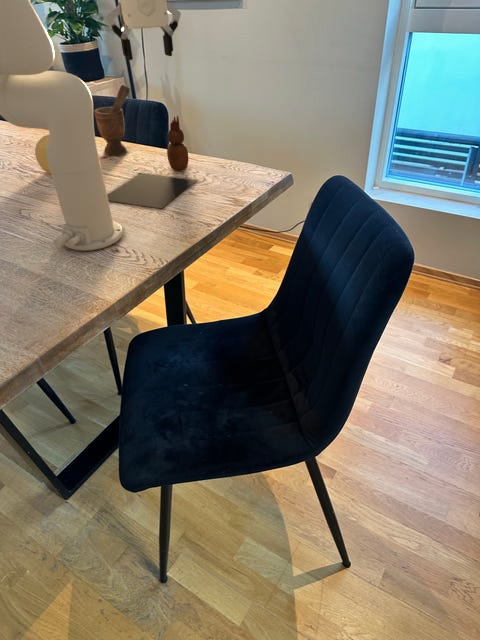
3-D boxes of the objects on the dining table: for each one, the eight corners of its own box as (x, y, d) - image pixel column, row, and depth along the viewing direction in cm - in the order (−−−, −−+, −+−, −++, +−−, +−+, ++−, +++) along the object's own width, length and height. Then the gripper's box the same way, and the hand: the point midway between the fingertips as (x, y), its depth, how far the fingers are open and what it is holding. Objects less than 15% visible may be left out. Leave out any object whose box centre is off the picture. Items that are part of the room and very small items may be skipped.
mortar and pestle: (137, 147, 145) (127, 80, 133) (140, 154, 139) (129, 85, 127) (102, 150, 143) (88, 83, 131) (103, 158, 136) (88, 88, 124)
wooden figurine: (191, 171, 125) (187, 116, 116) (172, 174, 124) (166, 118, 114) (185, 164, 130) (180, 111, 121) (167, 167, 129) (160, 113, 119)
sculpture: (57, 181, 121) (45, 141, 114) (33, 172, 127) (21, 134, 120) (90, 169, 128) (81, 131, 122) (66, 162, 134) (56, 125, 127)
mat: (161, 209, 104) (161, 208, 104) (99, 200, 110) (99, 199, 110) (196, 181, 119) (196, 180, 119) (140, 174, 124) (140, 173, 124)
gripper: (100, -38, 84) (117, 63, 95) (181, -39, 90) (189, 55, 101) (91, -37, 89) (108, 59, 100) (168, -38, 96) (177, 52, 106)
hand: (149, 57), depth 101 cm, fingers open, 9 cm apart
